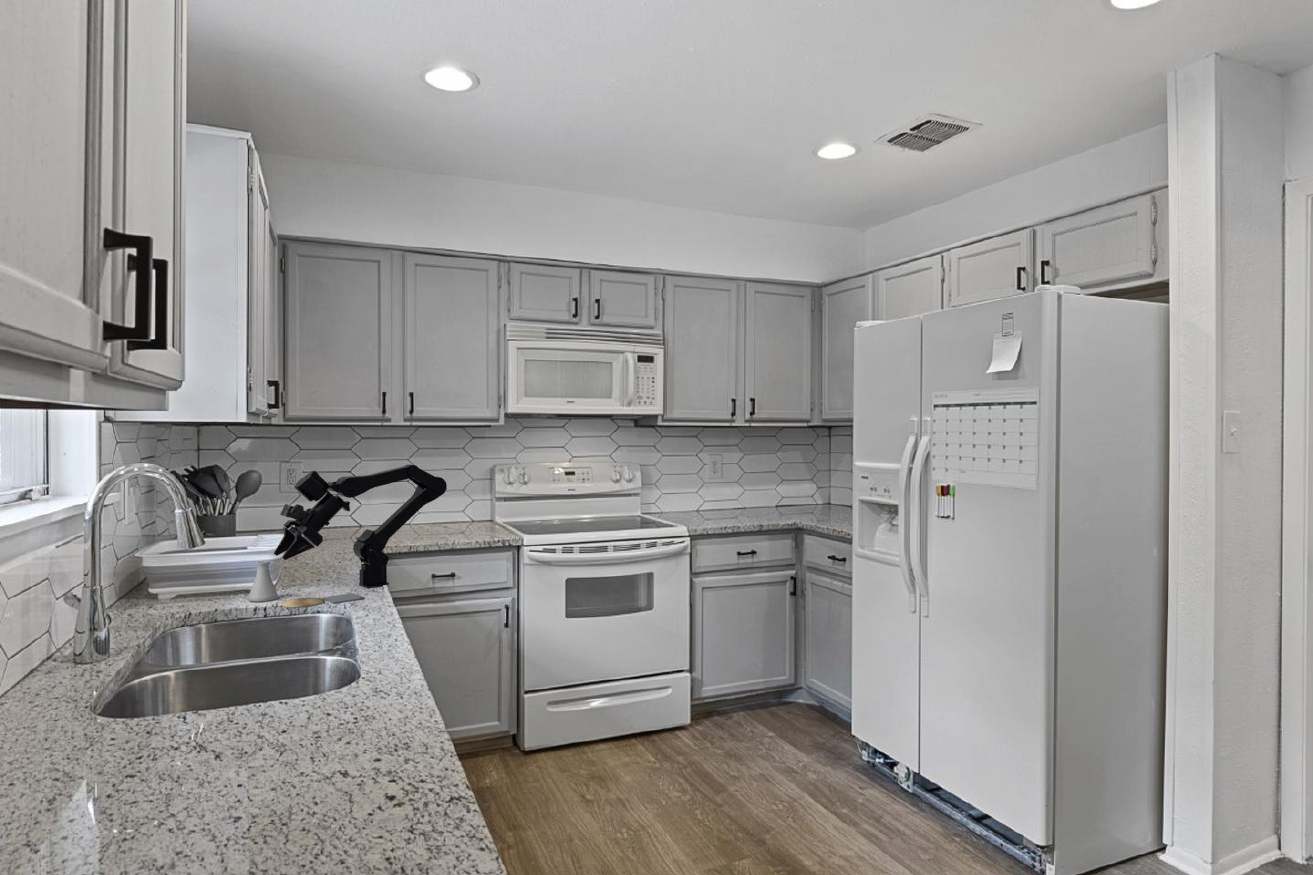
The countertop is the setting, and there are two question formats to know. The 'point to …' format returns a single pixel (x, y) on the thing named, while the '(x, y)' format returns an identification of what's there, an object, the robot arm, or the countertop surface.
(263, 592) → the flask
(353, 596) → the slate coaster
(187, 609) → the countertop surface
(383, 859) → the countertop surface
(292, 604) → the cork trivet
